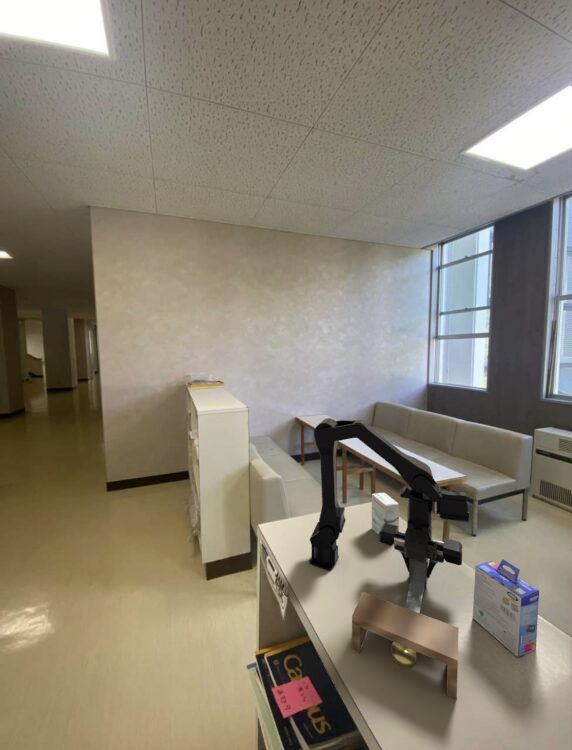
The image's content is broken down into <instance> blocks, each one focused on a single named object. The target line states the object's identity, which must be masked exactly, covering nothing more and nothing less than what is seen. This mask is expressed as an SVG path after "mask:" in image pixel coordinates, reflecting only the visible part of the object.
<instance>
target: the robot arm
mask: <svg viewBox="0 0 572 750" xmlns="http://www.w3.org/2000/svg"><path fill="white" fill-rule="evenodd" d="M313 437H314V441H315V442H314V443H315V446H316V448H317V450H318V454H319V457H320V460H319V461H320V475H321V476H320V478H321V479H320V481H321V510H320V514H319V518H318V519H319V520H318V522H317V523H316V526H315V527H314V530H313V532H312V534H311V535H310V538H309V542H310V545H311V546H310V547H311V557H310V559H309V560H308V563H309V564H310V565H314V566H315V567H318V568H320V569H324V570H327V571H328V572H330V571H332V570H333V568H334V566H335V565H336V564H337V563H338V561H339V546H338V545H337V540H338V539H339V537H340V534H342V532H343V530H344V527H345V523H346V520H347V519H346V517H345V509H346V508H345V506H340V504H339V500H338V479H337V478H338V477H337V475H338V474H337V455H336V454H337V450H338V449H337V448H338V443H339V442H340V441H345V440H349V439H358V440H359V441H361V443H363V444H364V445H365V446H367V447H368V448H369V449H371V450H372V451H373V452H374V453H376V454H377V455H378V456H379V457H381V458H382V459H383V460H385V462H387V463H388V464H389V465H390V466H392V467H393V468H394V469H395V471H396V472H397V473H398V474H399V475H400V477H401V479H402V480H403V481H404V482H405V483H406V484H405V486H403V487H402V488H400V489H399V497H400V498H403V499H407V510H406V511H407V515H406V516H407V518H406V519H407V520H406V524H407V527H406V530H405V532H401V531H400V526H399V527H398V526H396V525H392V524H388V523H384V524H383V526H382V528H381V530H380V532H379V535H378V542H379V543H380V544H383V545H386V546H389V547H392V546H393V548H394V550H395V551H398V552H399V553H400V554H401V557H402V558H403V561H404V563H405V566H406V569H407V572H408V573H409V559H413V560H417V561H419V562H422V563H425V562H426V561H427V559H428V571H427V578H428V579H430V577H431V575H432V572H433V571H434V568H435V567H436V565H437V564H439V563H440V564H443V563H444V562H446V563H449V564H453V565H456V566H462V565H463V544H462V543H461V541H458V540H455V539H451V538H447V537H444V538H443V541H442V540H437V539H433V508H434V512H435V515H438V518H439V519H440V520H443V521H451V522H457V523H463V524H468V523H469V520H470V512H469V509H468V501H467V498H468V497H467V494H466V493H465V491H464V492H463V491H448V490H443V489H442V490H441V488H440V486H439V484H438V482H437V481H436V480H435V479H434V476H433V472H432V469H431V467H430V466H429V465H428V464H427V463H425V462H423V461H422V460H420V459H418V458H416V457H414V456H411V455H408V454H406V453H405V452H403V451H401V450H400V449H399V448H398V447H396V446H395V445H394V444H393V443H392V442H390V441H389V440H387V439H386V438H385V437H384V436H382V435H381V434H380V433H378V432H377V431H376V430H374V429H373V428H372V427H371V426H370V425H369V424H367V422H366V421H364V420H362V419H356V420H349V419H347V420H345V419H344V420H343V419H342V420H341V419H340V420H335V419H334V418H324V419H323V420H322V421H320V423H318V424H317V425H316V426H315V428H314V430H313ZM433 502H434V507H433Z"/></svg>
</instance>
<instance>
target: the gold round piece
mask: <svg viewBox="0 0 572 750" xmlns="http://www.w3.org/2000/svg"><path fill="white" fill-rule="evenodd" d="M390 647H391V648H390V649H391V650H390V652H391V658H392V659H393V661H394V662H395V664H397V665H398V666H400V667H402V668H404V669H410V668H413V667H414V666H416V663H417V651H415V650H412V649H410V648H408V647H406V646H403V645H401V644H399V643H396V642H394V641H392V643H391V646H390Z"/></svg>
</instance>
